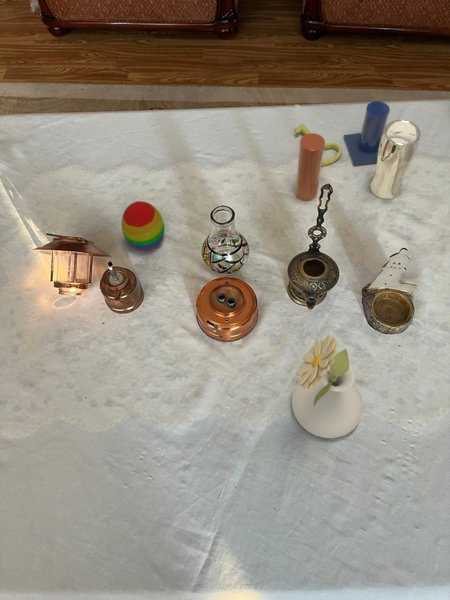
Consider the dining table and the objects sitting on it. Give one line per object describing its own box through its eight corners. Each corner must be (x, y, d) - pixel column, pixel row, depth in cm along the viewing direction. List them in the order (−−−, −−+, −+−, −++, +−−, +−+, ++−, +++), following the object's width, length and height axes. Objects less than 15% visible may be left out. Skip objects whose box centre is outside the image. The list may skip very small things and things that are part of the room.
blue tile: (382, 132, 118) (383, 129, 117) (394, 161, 113) (395, 158, 112) (343, 137, 117) (343, 134, 117) (353, 166, 113) (354, 163, 112)
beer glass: (362, 180, 111) (376, 124, 98) (392, 172, 112) (410, 115, 99) (377, 204, 107) (393, 149, 94) (408, 195, 108) (428, 139, 95)
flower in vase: (323, 361, 90) (344, 285, 69) (375, 407, 86) (415, 341, 64) (269, 411, 86) (274, 347, 65) (321, 463, 82) (344, 412, 60)
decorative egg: (168, 222, 108) (161, 189, 99) (164, 255, 104) (156, 223, 95) (129, 222, 108) (118, 189, 100) (124, 255, 104) (112, 223, 95)
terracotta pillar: (314, 183, 111) (321, 131, 99) (319, 199, 109) (327, 148, 97) (293, 186, 111) (297, 134, 99) (297, 202, 109) (302, 152, 97)
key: (300, 128, 120) (300, 121, 118) (345, 152, 115) (346, 145, 113) (280, 146, 117) (281, 139, 115) (326, 172, 113) (327, 164, 111)
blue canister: (376, 137, 116) (386, 99, 107) (382, 152, 114) (392, 114, 105) (355, 140, 116) (364, 102, 107) (361, 154, 113) (369, 117, 105)
